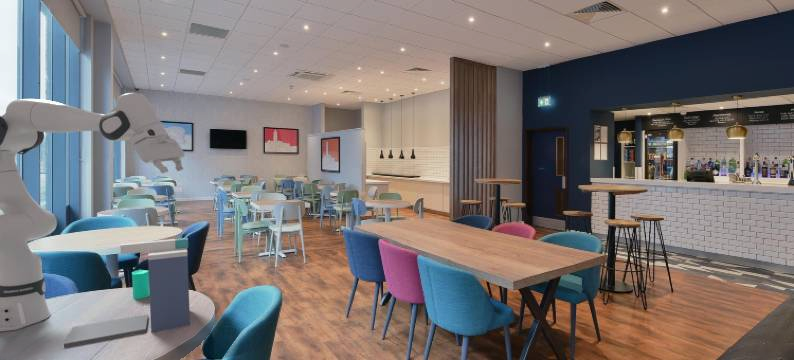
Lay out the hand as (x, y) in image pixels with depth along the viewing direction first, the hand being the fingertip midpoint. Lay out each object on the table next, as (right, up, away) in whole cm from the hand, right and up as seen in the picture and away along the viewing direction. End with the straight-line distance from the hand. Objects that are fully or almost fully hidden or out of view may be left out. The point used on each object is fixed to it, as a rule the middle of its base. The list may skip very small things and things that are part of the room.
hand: (173, 171), depth 140 cm
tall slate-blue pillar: (-3, -53, +3) cm, 53 cm away
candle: (-29, -52, +28) cm, 66 cm away
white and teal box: (-6, -27, 0) cm, 28 cm away
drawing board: (-18, -54, -5) cm, 57 cm away
